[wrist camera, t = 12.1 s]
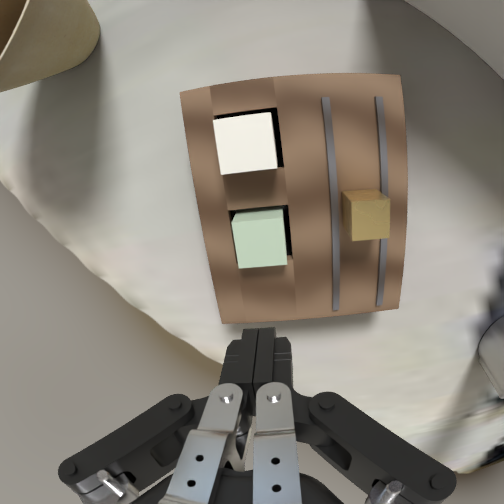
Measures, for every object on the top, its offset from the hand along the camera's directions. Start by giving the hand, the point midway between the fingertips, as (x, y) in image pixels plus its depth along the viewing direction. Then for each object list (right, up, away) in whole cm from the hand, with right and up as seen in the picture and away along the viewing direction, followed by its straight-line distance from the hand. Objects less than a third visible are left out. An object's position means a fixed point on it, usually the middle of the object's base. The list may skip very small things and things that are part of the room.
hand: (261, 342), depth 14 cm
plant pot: (-21, +29, +10) cm, 38 cm away
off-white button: (0, +14, +10) cm, 17 cm away
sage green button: (+1, +7, +15) cm, 16 cm away
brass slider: (+9, +8, +10) cm, 15 cm away
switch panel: (+5, +10, +16) cm, 19 cm away
